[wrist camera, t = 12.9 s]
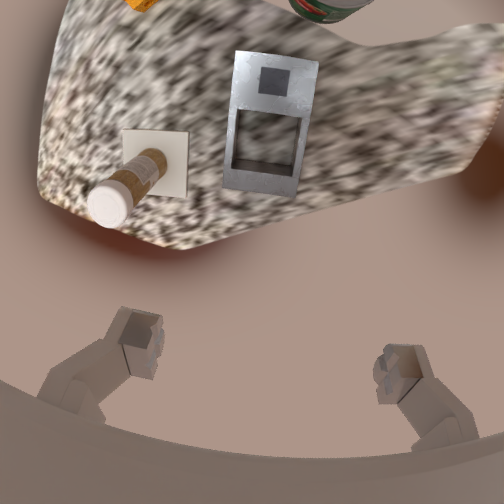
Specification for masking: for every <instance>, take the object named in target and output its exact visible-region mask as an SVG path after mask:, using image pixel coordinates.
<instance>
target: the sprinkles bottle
mask: <svg viewBox="0 0 504 504" xmlns="http://www.w3.org/2000/svg"><path fill="white" fill-rule="evenodd" d="M166 170H167V161H166V158H165V156H164V155H163V154H162V153H161V152H160V151H158V150H157V149H154V148H148V149H145V150H143V151H141V152H140V153H139V154H138V156H136V157H134V158H133V159H131V160H130V161H129V162H127V163H126V164H125V165H123V166H122V167H121V168H120V169H118V170H117V171H116V172H115V173H113V175H112V176H111V177H109V178H108V179H107V180H105V181H102V182H101V183H99V184H98V185H97V186H96V187H95V188H94V189H93V190H92V191H91V192H90V194H89V196H88V199H87V207H88V211H89V213H90V215H91V217H92V218H93V219H94V221H96V222H97V223H98V224H99V225H101V226H103V227H106V228H115V227H118V226H120V225H121V224H123V223H124V222H125V220H126V219H127V218H128V217H129V216H130V214H131V212H132V210H133V208H134V207H135V206H136V205H137V204H138V202H139V201H140V200H141V199H142V198H143V197H144V196H145V195H146V194H147V193H148V192H149V191H150V190H151V188H152V187H153V186H154V185H155V184H156V183H157V181H158V180H159V179H161V178H162V177H163V176H164V174H165V172H166Z"/></svg>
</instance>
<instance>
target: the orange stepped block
mask: <svg viewBox="0 0 504 504" xmlns="http://www.w3.org/2000/svg"><path fill="white" fill-rule="evenodd" d="M124 1H126V2H127V3H128V4H129V5H130V6H131V7H132V9H134V10H137V11H140V12H143V13H144V12H145V11H146V10H147V9H149V8H150V7H151V6H152V5H153V4H155V3H156V2H157V1H158V0H124Z"/></svg>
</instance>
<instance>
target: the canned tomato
mask: <svg viewBox="0 0 504 504" xmlns="http://www.w3.org/2000/svg"><path fill="white" fill-rule="evenodd" d="M372 1H374V0H289V2H290V4H291V6H292V8H293V9H294V10H295V11H296V12H297V13H298V14H299V15H300V16H302V17H303V18H305V19H307V20H309V21H312V22H315V23H319V24H331V23H336V22H339V21H341V20H343V19H345V18H346V17H348V16H349V15H351V14H352V13H354V12H356V11H357V10H359V9H360V8H362V7H364V6H365V5H367V4H370V3H371V2H372Z"/></svg>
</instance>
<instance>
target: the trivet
mask: <svg viewBox="0 0 504 504" xmlns="http://www.w3.org/2000/svg"><path fill="white" fill-rule="evenodd" d="M148 148H154V149H157V150H158V151H160V152H161V153H162V154H163V155H164V156H165V158H166V161H167V170H166V172H165V174H164V176H163V177H162V178H161V179H159V180H158V181H157V183H156V184H155V185H154V186H153V187H152V188H151V190H150V191H149V192H148V193H147V194H150V195H160V196H169V197H179V198H186V197H187V176H188V151H189V132H188V131H172V130H150V129H123V165H125V164H126V163H127V162H129V161H130V160H131V159H133V158H134V157H136V156H138V154H139V153H140V152H141V151H143V150H145V149H148Z"/></svg>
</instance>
